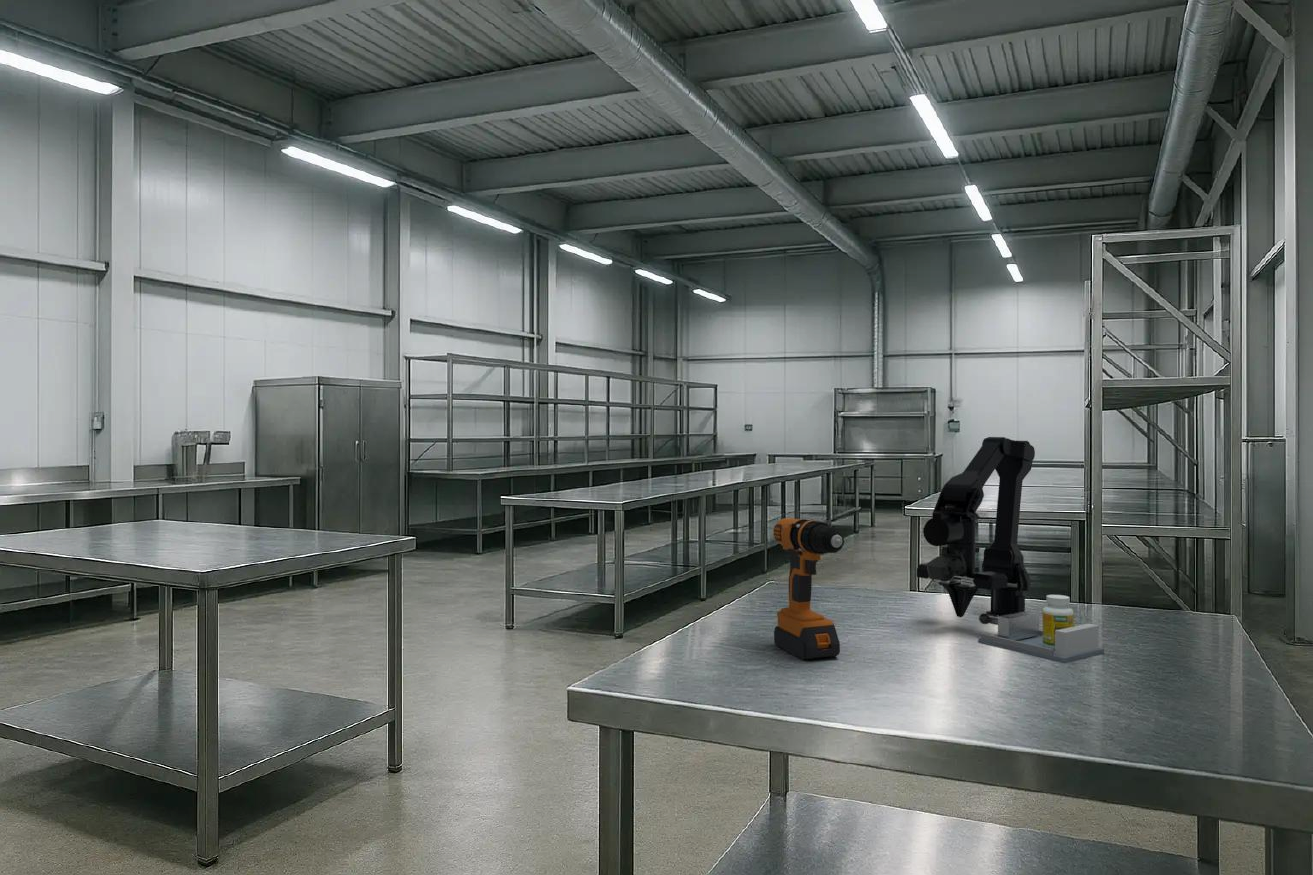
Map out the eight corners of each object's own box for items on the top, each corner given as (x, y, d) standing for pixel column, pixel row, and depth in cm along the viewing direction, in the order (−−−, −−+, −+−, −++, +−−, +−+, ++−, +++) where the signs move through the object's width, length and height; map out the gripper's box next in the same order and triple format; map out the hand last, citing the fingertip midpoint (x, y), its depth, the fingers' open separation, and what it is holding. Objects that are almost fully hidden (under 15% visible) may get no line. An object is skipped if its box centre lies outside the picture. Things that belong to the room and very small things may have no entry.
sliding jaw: (964, 631, 178) (964, 609, 178) (994, 625, 183) (995, 604, 183) (1008, 641, 169) (1008, 618, 169) (1039, 635, 175) (1039, 612, 175)
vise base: (978, 642, 173) (978, 615, 173) (1017, 633, 180) (1018, 608, 180) (1064, 662, 158) (1064, 633, 158) (1104, 652, 166) (1104, 625, 166)
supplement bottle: (1062, 643, 169) (1063, 593, 169) (1079, 650, 164) (1080, 598, 164) (1036, 644, 169) (1037, 594, 169) (1052, 651, 163) (1053, 599, 163)
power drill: (860, 668, 154) (862, 525, 153) (823, 671, 151) (824, 526, 151) (802, 639, 174) (803, 513, 174) (768, 642, 172) (769, 514, 171)
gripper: (899, 539, 188) (898, 613, 188) (974, 550, 172) (974, 630, 172) (933, 536, 194) (933, 607, 194) (1009, 546, 178) (1008, 623, 178)
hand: (960, 616), depth 184 cm, fingers closed
